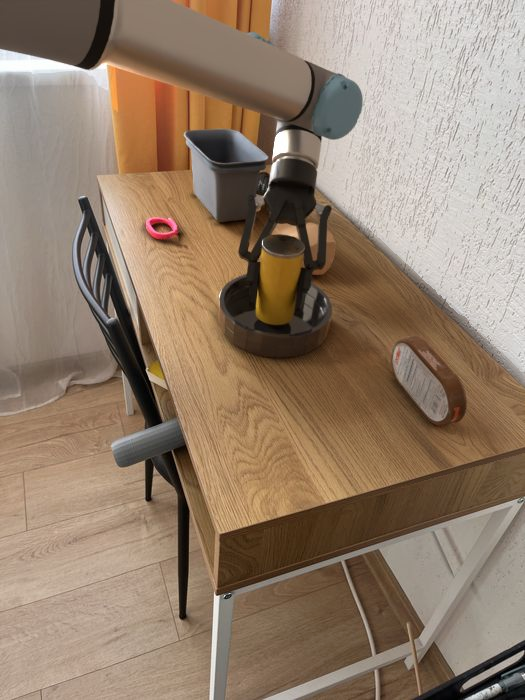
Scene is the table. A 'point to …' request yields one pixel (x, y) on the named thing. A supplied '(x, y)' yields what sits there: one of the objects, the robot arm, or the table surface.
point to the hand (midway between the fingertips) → (275, 306)
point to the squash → (313, 240)
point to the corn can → (278, 278)
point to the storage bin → (224, 171)
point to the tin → (428, 381)
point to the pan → (273, 339)
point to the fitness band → (161, 235)
